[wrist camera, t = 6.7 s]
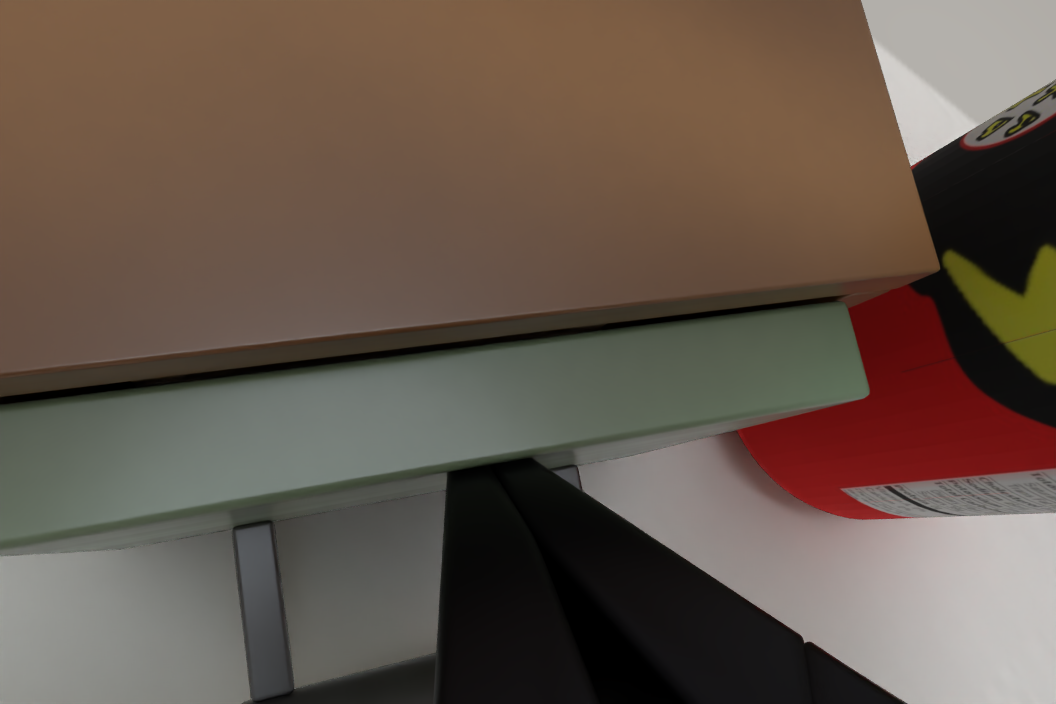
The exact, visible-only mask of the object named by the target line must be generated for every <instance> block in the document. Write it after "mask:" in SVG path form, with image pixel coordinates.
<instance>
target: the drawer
mask: <svg viewBox="0 0 1056 704" xmlns="http://www.w3.org/2000/svg"><path fill="white" fill-rule="evenodd" d="M604 325H605V324H599V325H591V326H583V327H574V328H566V329H558V330H549V331H541V332H533V333H525V334H516V335H508V336H500V337H492V338H483V339H475V340H467V341H458V342H450V343H442V344H434V345H425V346H417V347H409V348H401V349H392V350H384V351H376V352H367V353H359V354H351V355H343V356H334V357H326V358H318V359H309V360H301V361H293V362H285V363H276V364H268V365H260V366H252V367H243V368H235V369H227V370H218V371H210V372H202V373H194V374H185V375H177V376H169V377H161V378H152V379H144V380H136V381H131V382H132V383H133V384H134V386H135V387H136V388H129V389H121V390H113V391H105V392H97V393H89V394H80V395H72V396H64V397H56V398H48V399H40V400H32V401H24V402H16V403H8V404H0V556H15V555H32V554H50V553H68V552H85V551H103V550H121V549H127V548H133V547H138V546H144V545H149V544H155V543H160V542H165V541H171V540H176V539H182V538H187V537H193V536H198V535H203V534H209V533H214V532H220V531H225V530H231V529H232V539H233V548H234V556H235V565H236V574H237V582H238V591H239V599H240V608H241V617H242V625H243V634H244V642H245V651H246V660H247V668H248V677H249V685H250V694H251V699H252V700H248V701H244V702H243V703H242V704H433V700H434V683H435V667H436V653H434V654H430V655H426V656H422V657H418V658H414V659H410V660H406V661H402V662H398V663H394V664H390V665H386V666H382V667H378V668H375V669H371V670H367V671H363V672H359V673H355V674H351V675H347V676H343V677H339V678H335V679H331V680H327V681H323V682H319V683H315V684H311V685H307V686H303V687H300V688H296V689H294V676H293V668H292V660H291V652H290V644H289V636H288V628H287V620H286V612H285V605H284V597H283V589H282V581H281V573H280V565H279V557H278V549H277V541H276V533H275V525H274V523H273V522H274V521H279V520H285V519H290V518H296V517H301V516H307V515H312V514H317V513H323V512H328V511H334V510H339V509H345V508H350V507H355V506H361V505H366V504H372V503H377V502H383V501H388V500H393V499H399V498H404V497H410V496H415V495H421V494H426V493H432V492H437V491H442V490H446V484H447V473H448V472H453V471H458V470H464V469H470V468H475V467H481V466H487V465H489V466H490V465H493V464H498V463H503V462H509V461H515V460H520V459H526V458H533V459H534V460H536V461H538V462H539V463H541V464H542V465H544V466H545V467H547V468H548V469H550V470H551V471H553V472H554V473H556V474H557V475H559V476H560V477H562V478H563V479H565V480H566V481H568V482H569V483H571V484H572V485H574V486H575V487H577V488H578V489H580V490H581V491H582V486H581V481H580V476H579V471H578V467H577V466H578V465H584V464H589V463H594V462H600V461H605V460H611V459H616V458H622V457H627V456H632V455H636V454H641V453H645V452H649V451H653V450H657V449H661V448H665V447H669V446H673V445H677V444H681V443H685V442H689V441H693V440H698V439H702V438H706V437H710V436H714V435H718V434H722V433H726V432H730V431H734V430H738V429H742V428H746V427H750V426H754V425H759V424H763V423H767V422H771V421H775V420H779V419H783V418H787V417H791V416H795V415H799V414H803V413H807V412H811V411H815V410H820V409H824V408H828V407H832V406H836V405H840V404H844V403H848V402H852V401H856V400H860V399H864V398H865V397H866V396H868V395H869V394H870V388H869V384H868V381H867V377H866V373H865V370H864V366H863V362H862V359H861V355H860V351H859V348H858V344H857V340H856V337H855V333H854V329H853V326H852V322H851V318H850V315H849V311H848V307H847V305H846V304H845V302H841V301H833V302H825V303H817V304H809V305H801V306H792V307H784V308H776V309H768V310H760V311H752V312H744V313H736V314H728V315H720V316H712V317H703V318H695V319H687V320H679V321H671V322H663V323H655V324H647V325H639V326H631V327H623V328H614V329H606V330H598V329H600V328H601V327H602V326H604ZM597 330H598V331H597Z"/></svg>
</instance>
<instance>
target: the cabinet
mask: <svg viewBox="0 0 1056 704" xmlns="http://www.w3.org/2000/svg"><path fill="white" fill-rule="evenodd" d="M939 270H940V264H939V261H938V258H937V254H936V251H935V247H934V244H933V241H932V237H931V234H930V231H929V227H928V224H927V221H926V217H925V214H924V211H923V207H922V204H921V200H920V197H919V194H918V190H917V187H916V184H915V180H914V177H913V174H912V170H911V167H910V164H909V160H908V157H907V153H906V150H905V147H904V143H903V140H902V137H901V133H900V130H899V127H898V123H897V120H896V117H895V113H894V110H893V106H892V103H891V100H890V96H889V93H888V90H887V86H886V83H885V80H884V76H883V73H882V70H881V66H880V63H879V59H878V56H877V53H876V49H875V46H874V43H873V39H872V36H871V33H870V29H869V26H868V23H867V19H866V16H865V12H864V9H863V6H862V3H861V0H0V404H8V403H16V402H24V401H32V400H40V399H48V398H56V397H64V396H72V395H80V394H89V393H97V392H105V391H113V390H121V389H129V388H136V387H135V386H134V384H133V383H132V382H131V381H136V380H144V379H152V378H161V377H169V376H177V375H185V374H194V373H202V372H210V371H218V370H227V369H235V368H243V367H252V366H260V365H268V364H276V363H285V362H293V361H301V360H309V359H318V358H326V357H334V356H343V355H351V354H359V353H367V352H376V351H384V350H392V349H401V348H409V347H417V346H425V345H434V344H442V343H450V342H458V341H467V340H475V339H483V338H492V337H500V336H508V335H516V334H525V333H533V332H541V331H549V330H558V329H566V328H574V327H583V326H591V325H599V324H605V325H604V326H602V327H601V328H600V329H598V330H606V329H614V328H623V327H631V326H639V325H647V324H655V323H663V322H671V321H679V320H687V319H695V318H703V317H712V316H720V315H728V314H736V313H744V312H752V311H760V310H768V309H776V308H784V307H792V306H801V305H809V304H817V303H825V302H833V301H841V302H845V304H846V305H847V307H848V308H850V307H852V306H855V305H857V304H860V303H862V302H865V301H867V300H869V299H872V298H874V297H877V296H879V295H881V294H884V293H886V292H888V291H890V290H891V289H897V288H899V287H902V286H904V285H907V284H909V283H912V282H914V281H916V280H919V279H921V278H924V277H926V276H929V275H931V274H933V273H936V272H937V271H939ZM598 330H597V331H598Z"/></svg>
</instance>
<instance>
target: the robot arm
mask: <svg viewBox="0 0 1056 704" xmlns="http://www.w3.org/2000/svg"><path fill="white" fill-rule="evenodd" d="M433 704H907V703H905V702H904V701H902V700H901V699H899V698H897V697H896V696H894V695H893V694H891V693H890V692H888V691H886V690H885V689H883V688H882V687H880V686H878V685H877V684H875V683H874V682H872V681H871V680H869V679H867V678H866V677H864V676H863V675H861V674H859V673H858V672H856V671H855V670H853V669H852V668H850V667H848V666H847V665H845V664H844V663H842V662H841V661H839V660H838V659H836V658H835V657H833V656H832V655H830V654H829V653H827V652H826V651H824V650H823V649H821V648H820V647H818V646H817V645H815V644H814V643H812V642H806V643H805V644H804V640H803V638H802V636H801V635H799V634H798V633H796V632H795V631H793V630H792V629H790V628H789V627H787V626H786V625H784V624H783V623H781V622H780V621H778V620H777V619H775V618H774V617H772V616H771V615H769V614H768V613H766V612H765V611H763V610H762V609H760V608H758V607H757V606H755V605H754V604H752V603H751V602H749V601H748V600H746V599H745V598H743V597H742V596H740V595H739V594H737V593H736V592H734V591H733V590H731V589H730V588H728V587H727V586H725V585H724V584H722V583H721V582H719V581H718V580H716V579H715V578H713V577H712V576H710V575H709V574H707V573H706V572H704V571H702V570H701V569H699V568H698V567H696V566H695V565H693V564H692V563H690V562H689V561H687V560H686V559H684V558H683V557H681V556H680V555H678V554H677V553H675V552H674V551H672V550H671V549H669V548H668V547H666V546H665V545H663V544H662V543H660V542H659V541H657V540H656V539H654V538H653V537H651V536H650V535H648V534H646V533H645V532H643V531H642V530H640V529H639V528H637V527H636V526H634V525H633V524H631V523H630V522H628V521H627V520H625V519H624V518H622V517H621V516H619V515H618V514H616V513H615V512H613V511H612V510H610V509H609V508H607V507H606V506H604V505H603V504H601V503H600V502H598V501H597V500H595V499H594V498H592V497H590V496H589V495H587V494H586V493H584V492H583V491H581V490H580V489H578V488H577V487H575V486H574V485H572V484H571V483H569V482H568V481H566V480H565V479H563V478H562V477H560V476H559V475H557V474H556V473H554V472H553V471H551V470H550V469H548V468H547V467H545V466H544V465H542V464H541V463H539V462H538V461H536V460H534V459H533V458H526V459H520V460H515V461H509V462H503V463H498V464H493V465H490V466H489V465H487V466H481V467H475V468H470V469H464V470H458V471H453V472H448V473H447V484H446V501H445V518H444V534H443V551H442V567H441V584H440V600H439V617H438V634H437V650H436V667H435V683H434V700H433Z"/></svg>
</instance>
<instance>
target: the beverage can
mask: <svg viewBox="0 0 1056 704" xmlns="http://www.w3.org/2000/svg"><path fill="white" fill-rule="evenodd" d="M911 170H912V174H913V177H914V180H915V184H916V187H917V190H918V194H919V197H920V200H921V204H922V207H923V211H924V214H925V217H926V221H927V224H928V227H929V231H930V234H931V237H932V241H933V244H934V247H935V251H936V254H937V258H938V261H939V264H940V270H939V271H937V272H936V273H933V274H931V275H929V276H926V277H924V278H921V279H919V280H916V281H914V282H912V283H909V284H907V285H904V286H902V287H899V288H897V289H891V290H890V291H888V292H886V293H884V294H881V295H879V296H877V297H874V298H872V299H869V300H867V301H865V302H862V303H860V304H857V305H855V306H852V307H850V308H848V311H849V315H850V318H851V322H852V326H853V329H854V333H855V337H856V340H857V344H858V348H859V351H860V355H861V359H862V362H863V366H864V370H865V373H866V377H867V381H868V384H869V388H870V394H869V395H868V396H866V397H865V398H864V399H860V400H856V401H852V402H848V403H844V404H840V405H836V406H832V407H828V408H824V409H820V410H815V411H811V412H807V413H803V414H799V415H795V416H791V417H787V418H783V419H779V420H775V421H771V422H767V423H763V424H759V425H754V426H750V427H746V428H742V429H738V430H737V432H738V434H739V436H740V437H741V439H742V441H743V443H744V445H745V446H746V448H747V449H748V451H749V452H750V453H751V455H752V456H753V458H754V459H755V460H756V462H757V463H758V464H759V465H760V467H761V468H762V469H763V470H764V471H765V472H766V473H767V474H768V475H769V476H770V477H771V478H772V479H773V480H774V481H775V482H776V483H777V484H779V485H780V486H781V487H782V488H783V489H785V490H786V491H787V492H789V493H790V494H792V495H793V496H794V497H796V498H798V499H800V500H801V501H803V502H805V503H807V504H809V505H811V506H813V507H815V508H818V509H820V510H823V511H825V512H828V513H831V514H834V515H837V516H842V517H846V518H852V519H862V520H866V519H896V518H924V517H951V516H978V515H1005V514H1032V513H1056V80H1054V81H1052V82H1051V83H1049V84H1047V85H1046V86H1044V87H1042V88H1041V89H1039V90H1037V91H1036V92H1034V93H1032V94H1031V95H1029V96H1027V97H1026V98H1024V99H1023V100H1021V101H1019V102H1017V103H1016V104H1014V105H1012V106H1011V107H1009V108H1008V109H1006V110H1004V111H1002V112H1001V113H999V114H997V115H996V116H994V117H992V118H991V119H989V120H987V121H986V122H984V123H983V124H981V125H979V126H977V127H976V128H974V129H973V130H971V131H969V132H968V133H966V134H964V135H963V136H961V137H959V138H958V139H956V140H954V141H953V142H951V143H949V144H948V145H946V146H944V147H943V148H941V149H939V150H938V151H936V152H934V153H933V154H931V155H929V156H928V157H926V158H924V159H923V160H921V161H919V162H918V163H916V164H914V165H913V166H911Z"/></svg>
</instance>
